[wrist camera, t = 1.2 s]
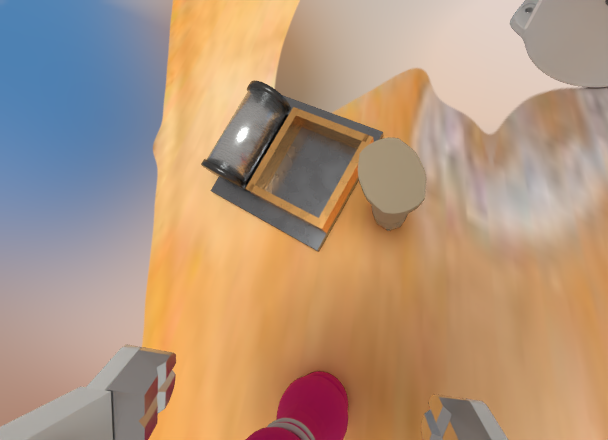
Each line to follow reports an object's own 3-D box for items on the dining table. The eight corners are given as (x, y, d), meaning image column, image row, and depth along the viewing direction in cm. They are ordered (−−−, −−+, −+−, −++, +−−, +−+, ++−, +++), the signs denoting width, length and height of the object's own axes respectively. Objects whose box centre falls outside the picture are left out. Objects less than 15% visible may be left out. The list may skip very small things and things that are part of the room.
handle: (398, 189, 38) (405, 128, 24) (418, 236, 36) (438, 199, 22) (362, 203, 39) (348, 152, 25) (380, 249, 37) (375, 222, 23)
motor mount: (271, 94, 47) (251, 60, 40) (383, 135, 40) (382, 103, 33) (213, 192, 45) (181, 174, 39) (318, 251, 39) (304, 242, 32)
